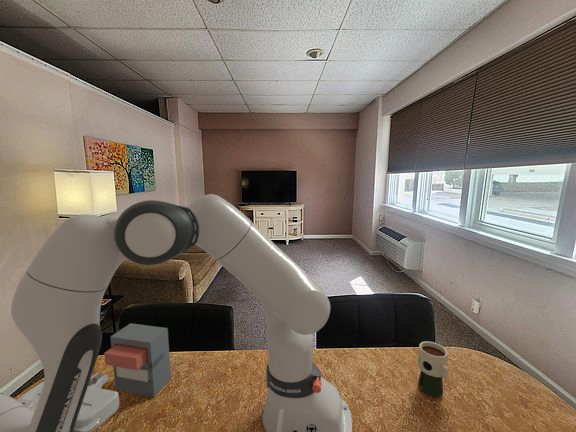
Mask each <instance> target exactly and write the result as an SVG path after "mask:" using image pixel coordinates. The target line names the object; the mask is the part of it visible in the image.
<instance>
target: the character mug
mask: <svg viewBox="0 0 576 432" xmlns="http://www.w3.org/2000/svg"><path fill="white" fill-rule="evenodd" d="M448 360H449V352H448V350H447V349H446V347H444V346H442V345H441V344H439V343H436V342H433V341H421V342H420V343H419V345H418V358H417V365H418V366H417V367H418V368H419V371H420V373H419V378H418V382H417V387H418V389H420V387H421V392H422V393H423V394H424V395H426V396H428V397H430V398H439V397H442V396H443V393H444V384H443V382H444V381H443V379H446V380H447V379H448V377H449V368H448Z"/></svg>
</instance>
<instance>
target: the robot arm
mask: <svg viewBox="0 0 576 432" xmlns="http://www.w3.org/2000/svg"><path fill="white" fill-rule="evenodd" d="M118 216H119V217H117V219H112V218H111V219H110V218H106V217H104V216H100V215H97V214H77V215H73V216H71V217H68V218H67V219H65V220H64V221H63V222H61V224H60V225H59V226H58V227H57V228H56V229H55V230H54V231H53V233H51V235H50V236H49V237H48V239H47V240H46V241H45V242H44V244H43V245H42V246H41V248H40V249H39V251H37V253H36V255H35V256H34V257H33V260H32V261H31V262H30V264H29V266H28V268H27V270H26V271H25V272H24V275H23V276H22V278H21V280H20V281H19V282H18V285H17V287H16V289H15V292H14V294H13V298H12V303H11V308H10V312H11V317H12V319H13V323H14V324H15V326H16V327H17V329H18V330H19V331H20V332H21V334H22V335H23V336H24V337H25V339H26V340H27V341H28V342H29V344H30V345H31V346H32V348H33V349H34V352H35V353H36V354H37V356H38V358H39V360H40V363H41V364H42V368H43V373H44V381H42V382H40V383H38V384H37V385H35V386H34V387H32V388H31V389H29V390H28V391H26V392H25V393H23V394H22V395H20V396H19V397H17V399H16V398H14V397H11V396H10V395H7V394H5V393H2V392H0V432H94V431H95V430H96V429H97V428H99V427H100V426H102V425H103V423H105V422H106V421H107V420H108V419H109V418H110V417H111V416H113V415H114V414H115V413H116V412H117V411H118V409H119V407H120V396H119V392H118V391H117V390H116V391H115V390H112V389H111V390H110V389H106V388H105V389H104V388H103V385H104V384H106V383H107V382H108V381H109V375H108V374H107V373H106V374H105V373H101V372H96V373H95V374H93V372H94V369H95V365H96V363H97V359H98V356H99V354H100V353H99V352H100V349H101V346H102V340H103V333H102V329H101V324H100V315H101V307H102V306H101V305H102V302H103V298H104V296H105V293H106V291H107V288H108V287H109V285H110V283H111V281H112V278H113V277H114V275H115V274H116V271H117V269H118V268H119V267H120V265H121V264H122V263H123V262H124V261H126V260H129V261H131V262H132V263H135V264H139V265H143V266H155V265H161V264H163V263H166V262H168V261H170V260H173V259H174V258H176V257H178V256H179V255H181V254H182V253H184V252H186V251H188V250H189V249H191V248H193V247H194V246H197V247H198V248H200V249H201V250H203V251H205V253H207V254H208V255H209V256H210V257H211V258H212V259H214V261H216V262H217V263H219V264H220V266H221V267H223V268H225V270H226V271H228V272H229V273H230V274H232V275H233V276H234V277H235V278H236V279H237V280H239V281H240V282H241V283H242V285H244V286H245V287H246V288H247V289H248V290H249V291H250V293H252V294H253V295H254V296H255V297H256V298H257V299H258V300H259V301H260V302H261V303H262V304H263V314H264V319H265V325H266V333H267V345H268V346H267V353H268V359H267V361H268V362H267V365H266V370H265V371H266V375H265V376H266V377H265V379H266V388H267V393H266V400H265V405H264V408H263V412H262V423H263V427H264V429H265V432H353V420H352V414H351V411H350V408H349V405H348V404H347V402H346V401H345V400H344V399H343V398H341V395H340V392H339V390H338V388H337V387H336V386H335V385H334V384H332V383H331V382H329V381H328V380H326V378H324V377H322V371H321V364H320V362H318V366H316V364H315V363H314V362H313V359H314V357H313V355H314V338H313V334H315V333H317V332H319V331H320V330H321V329H322V328H324V326H325V325H326V323H327V322H328V320H329V318H330V313H331V302H330V300H329V298H328V296H327V295H326V293H325V291H324V290H323V289H322V287H321V286H320V285H319V284H318V283H317V282H316V281H315V280H314V279H313V278H312V276H310V275H309V274H308V273H307V272H306V271H305V270H304V269H303V268H301V266H300V265H298V264H297V263H296V262H295V261H294V260H292V258H291V257H290V256H288V255H287V254H286V253H285V252H284V251H283V250H282V249H281V248H279V247H278V245H276V244H275V243H274V241H272V240H271V239H270V238H269V237H268V236H267V235H266V234H265V233H264V232H263V231H262V230H261V229H260V228H259V227H258V226H257V225H256V224H255V223H254V222H253V221H252V220H251V219H250V218H248V217H247V216H246V215H245V214H244V213H243V212H242V211H240V209H238V208H237V207H236V206H235V205H233V204H232V203H230V202H228V201H227V200H226V199H224V198H222V197H221V196H220V195H217V194H214V193H210V194H204V195H202V196H199V197H198V198H196V199H195V200H194V201H192V203H190V204H188V205H186V206H183V205H178V204H174V203H171V202H168V201H165V200H161V199H147V200H143V201H139V202H136V203H134V204H132V205H130V206H129V207H127V208H126V209H125V210H124V211H123V212H121V214H120V215H118Z"/></svg>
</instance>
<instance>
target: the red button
mask: <svg viewBox="0 0 576 432" xmlns="http://www.w3.org/2000/svg"><path fill="white" fill-rule="evenodd" d="M103 355H104V365H105V366H111V367H113V366H116V367H121V368H127V369H133V370H138V369H139V368H140V367H141V366H142V365H143V364H144V363H145V362H147V361H148V351H147V348H141V347H134V346H127V345H121V344H116V345H115V346H113V347H112V348H109V349H108V350H107V351H105V352H104V353H103Z"/></svg>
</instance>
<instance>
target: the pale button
mask: <svg viewBox="0 0 576 432" xmlns="http://www.w3.org/2000/svg"><path fill="white" fill-rule="evenodd" d="M116 370H117V376H118V377H123V378H129V379H134V380H140V381H145V382H148V381H149V380H150V377H149V368H143V367H140V368H139V369H138V370H133V369H127V368H121V367H116Z"/></svg>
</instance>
